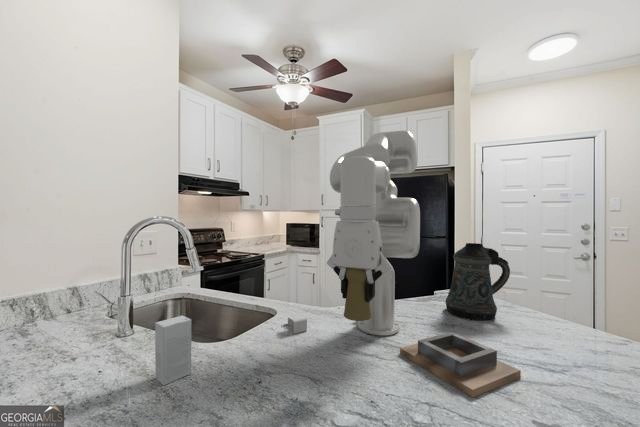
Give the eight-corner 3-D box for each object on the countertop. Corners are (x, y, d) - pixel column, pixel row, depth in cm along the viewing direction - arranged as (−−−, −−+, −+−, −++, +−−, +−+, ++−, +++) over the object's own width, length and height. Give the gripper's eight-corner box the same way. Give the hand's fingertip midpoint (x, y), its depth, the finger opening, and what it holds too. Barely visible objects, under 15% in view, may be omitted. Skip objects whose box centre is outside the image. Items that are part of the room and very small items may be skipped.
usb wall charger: (306, 331, 89) (306, 318, 89) (285, 336, 85) (285, 322, 85) (300, 327, 92) (300, 314, 92) (280, 332, 88) (280, 318, 88)
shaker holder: (399, 353, 75) (400, 336, 75) (443, 341, 82) (444, 325, 82) (472, 397, 57) (473, 374, 57) (520, 377, 64) (520, 356, 65)
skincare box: (182, 367, 67) (182, 314, 67) (191, 374, 65) (192, 319, 65) (153, 378, 63) (154, 322, 63) (162, 386, 60) (163, 327, 60)
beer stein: (436, 307, 113) (436, 241, 113) (481, 304, 117) (481, 241, 117) (465, 322, 97) (465, 246, 97) (516, 319, 100) (516, 245, 100)
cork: (371, 322, 61) (371, 268, 61) (342, 319, 62) (342, 267, 62) (372, 311, 67) (372, 263, 67) (345, 310, 68) (345, 262, 68)
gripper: (315, 214, 65) (315, 297, 65) (392, 215, 57) (392, 310, 57) (330, 214, 71) (330, 289, 72) (401, 214, 64) (400, 299, 64)
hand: (357, 297), depth 65 cm, fingers closed on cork, 4 cm apart
